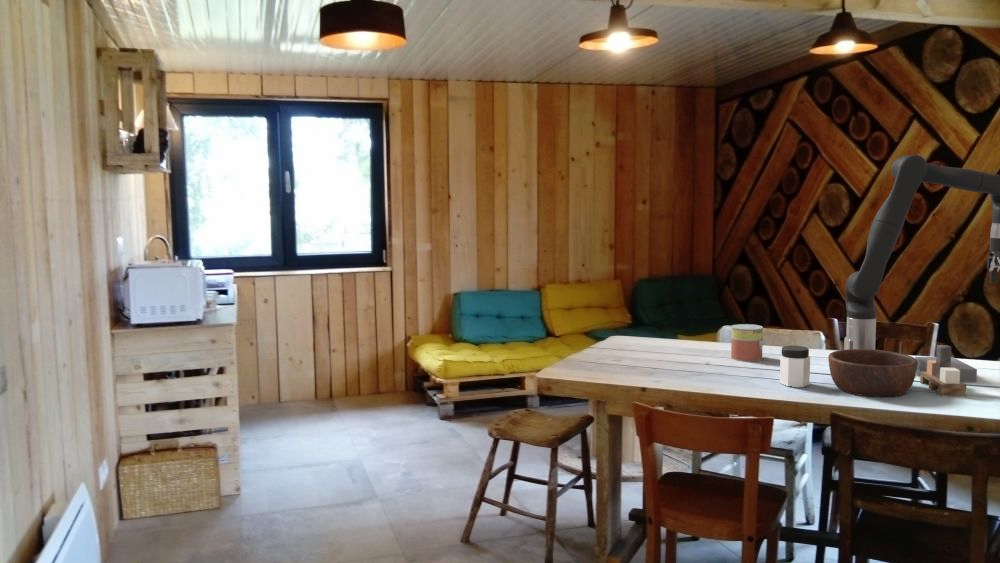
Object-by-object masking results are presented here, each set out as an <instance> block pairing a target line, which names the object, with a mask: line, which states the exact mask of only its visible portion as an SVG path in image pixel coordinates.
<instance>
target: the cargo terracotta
mask: <svg viewBox="0 0 1000 563" xmlns="http://www.w3.org/2000/svg"><path fill="white" fill-rule="evenodd" d="M927 373H929V374H930V375H936V360H927Z"/></svg>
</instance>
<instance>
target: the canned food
mask: <svg viewBox="0 0 1000 563" xmlns="http://www.w3.org/2000/svg"><path fill="white" fill-rule="evenodd" d="M763 330H764V327H763V326H762V325H758V324H753V323H752V324H751V323H750V324H749V323H740V324H739V323H738V324H731V334H730V335H731V339H730V340H731V341H730V342H731V344H730V345H731V350H730V358H731V359H732V360H734V361H737V362H738V361H739V362H747V363H749V362H750V363H751V362H752V363H753V362H759V361H762V360H764V359H763V341H764V339H763V338H764V336H763V335H764V334H763V333H764V331H763Z"/></svg>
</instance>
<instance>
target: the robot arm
mask: <svg viewBox="0 0 1000 563" xmlns="http://www.w3.org/2000/svg"><path fill="white" fill-rule="evenodd" d="M890 173H891V175H892V177H893V178H894V179H895V180H894V183H893V186H892V189H891V192H890V193H889V195H888V196H887V198H886V199H885V200H884V201H883V203H882V205H881V206H880V208H879V209H878V211H877V212H876V215H875V216H874V218H873V221H872V223H871V226H870V229H869V232H868V234H867V240H866V241H867V243H866V251H865V257H864V259H863V262H862V264H861V266H860V269H859V270H858V271H854V272H852V273H851V274H850V275H849V276H848V277H847V278H846V283H845V309H846V336H845V337H844V344H843V346H844V348H843V350H848V349H871V350H876V333H877V331H876V330H877V329H876V328H877V310H876V307H875V301H874V300H875V299H874V298H875V296H877V294H878V292H879V291H880V289H881V285H882V282H883V277H884V274H885V270H886V268H887V265H888V262H889V260H890V257H891V255H892V253H893V251H894V248H895V246H896V244H897V241H898V239H899V236H900V235H901V232H902V230H903V227H904V224H905V221H906V218H907V216H908V214H909V211H910V208H911V206H912V202H913V201H914V200H913V199H914V197H915V195H916V193H917V191H918V189H919V187H920V186H921V184H922V183H927V184H933V185H934V184H935V185H939V186H944V187H948V188H951V189H952V188H954V189H958V190H960V191H967V192H971V193H977V194H989V195H990V201H991V207H992V216H991V218H992V219H991V220H992V221H991V227H990V239H989V251H990V252H988V253H987V261H986V269H987V270H989V273H990V276H989V277H990V278H989V283H992V284H997V283H998V282H999V271H1000V174H996V173H995V174H994V173H988V172H984V171H979V170H975V169H967V168H962V167H952V166H944V165H943V166H942V165H937V164H932V163H928V162H927V161H926V159H925V158H924V157H923V156H921V155H919V154H907V155H902V156H899V157H898V158H896V159H895V160H894V161H893V163H892V164H891V166H890Z"/></svg>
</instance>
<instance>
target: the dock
mask: <svg viewBox="0 0 1000 563" xmlns="http://www.w3.org/2000/svg"><path fill="white" fill-rule="evenodd" d="M914 358H915V359H916V360H917V362H918V365H917V371H919V373H920V372H927V360H936V356H915V357H914ZM950 368H956V369H958V370H960V381H961V382H969V383H971V382H975V383H976V382H977V379H978V378H977V376H978V375H977V374H978V369H977V368H976V367H974V366H971V365H969V364H967V363H965V362H963V361H961V360H960V359H958V358H955V357H954V356H951V367H950Z"/></svg>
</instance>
